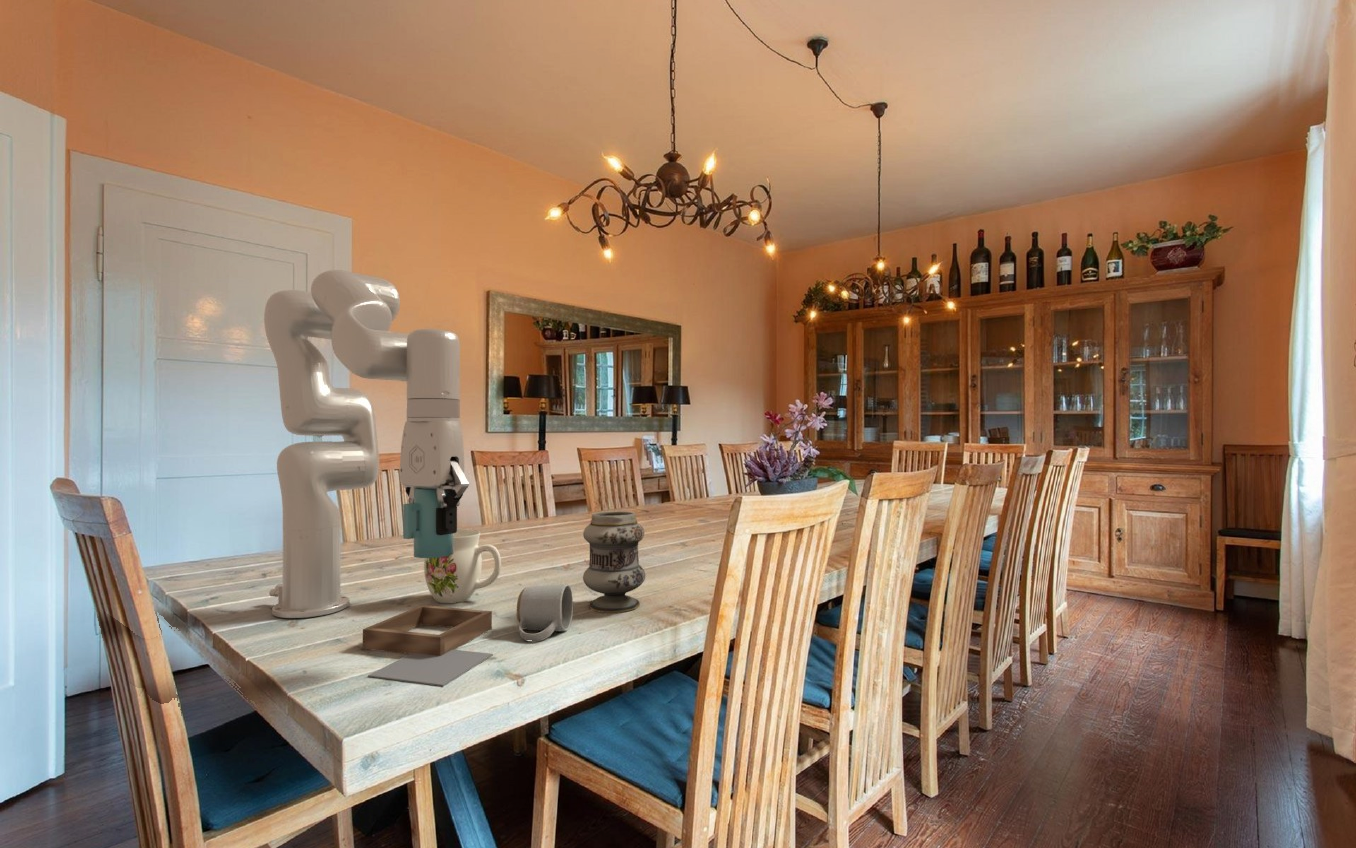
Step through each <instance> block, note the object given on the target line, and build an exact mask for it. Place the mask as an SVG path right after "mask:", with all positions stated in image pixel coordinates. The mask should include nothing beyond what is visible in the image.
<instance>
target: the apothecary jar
mask: <svg viewBox="0 0 1356 848" xmlns="http://www.w3.org/2000/svg"><path fill="white" fill-rule="evenodd" d="M582 534H583V538H584V540H585V541H586V542H587V543H589V565H588V568H586V570H585V571H584V572H583V575H582V580H583V581H582V582H583V583H584V584H585V586H586V587H587V588H588V589H590V590H591V591H594V592H596V593H599V594H603V595H601V596H599V597H597V598H595V599H593V600H591V601H590V602H589V604H588V608H589V609H590V610H592V611H593V612H597V613H598V612H599V613H603V614H604V613H605V614H606V613H608V614H615V613H616V614H617V613H625V612H630V611H633V610H636V609H638V608H639V607H640V605H641V602H640V601H639V600H638V599H637V598H635V597H632V596H630V595H626V594H627V593H629V592H632V591H634V590H636V589H638V588H639V587H640V586H641V585H642V584H643V583H644V582H645V580H646V572H645V569H644V568H643V567H642V566H641V565H640V562H639V561H640V560H639V543H640V542H641V541H642V540H643V539H644V537H645V529H644V527H643V526H642V525H641V524H640V523H638V520H637V516H636V512H634V511H630V510H607V511H598V512H593V513H592V514H591V519H590V523H589V524H588V525H586V527H585V528H584V530H583V533H582Z"/></svg>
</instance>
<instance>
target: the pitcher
mask: <svg viewBox="0 0 1356 848" xmlns="http://www.w3.org/2000/svg"><path fill="white" fill-rule="evenodd" d="M480 537H481V531H480V530H477V529H469V528H468V529H467V528H457V532H456V533H453V554H452V555H449V556H445V557H438V558H424V562H423V563H424V564H423V571H424V578H425V583H426V586H427V588H428V591H429V593H430V594H431V596H432V598H433V599H434V600H435V601H436V602H437V603H439V604H440V603H442V604H456V602H457V603H462V602H466V601H468V600H470V599H471V598H472V596H473V594H475V592H476V591H477V590H479V589H482V588H483V589H484V588H486V587H488V586H490V585H491V584H493V583H494V582H495V581H496V580H497V579H498V578H499V575H500V573H501V569H502V558H501V554H500V552H499V550H498V549H497V547H495V545H492V544H484V545H481V546H479V542H480V541H479V540H480ZM483 552H490V553H491V554H492V557H493V559H494V569H493V571H492V574H491V575H490V576H489V577H487V578H486V579H485V580H480V579H481V575H482V569H483V568H482V567H483V557H482V553H483Z"/></svg>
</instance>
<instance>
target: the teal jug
mask: <svg viewBox="0 0 1356 848" xmlns="http://www.w3.org/2000/svg"><path fill="white" fill-rule="evenodd" d="M444 492H445V496H446V495H447V494H448V492H449V491H444ZM402 508H403V510H402V511H403V512H402V513H403V514H402V515H403V517H402V518H403V519H402V520H403V523H402V526H403V529H402V533H403V535H402V538H403V539H404V540H405V539H406V540H412V539H413V557H414V558H417V559H425V558H438V557H445V556H449V555H452V554H453V533H452V534H446V535H437V534H436V508H440V506H439V503H438V498H437V493H436V488H434V489H429V488H414V503H403V506H402Z"/></svg>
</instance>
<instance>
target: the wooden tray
mask: <svg viewBox="0 0 1356 848" xmlns="http://www.w3.org/2000/svg"><path fill="white" fill-rule="evenodd" d="M492 619H493V611H492V610H491V611H490V610H480V609H472V608H471V609H470V608H469V609H468V608H458V607H446V606H438V605H437V606H435V605H425V604H422V605H419V606H417V607H414V608H411V609H409V610H407V611H405V612H402V613H399V614H396V615H394V616H392V617H389V618H386V619H385V620H382V621H380V622H377V623H375V624H373V625H369V626H368V627H364V628H363V629H362V649H364V650H370V651H378V652H379V651H381V652H388V653H397V654H405V655H406V654H407V655H409V654H411V653H417V654H426V655H434V656H442V655H443V654H445V653H447V652H449V651H451V650H452V649H453V650H458V648H460V647H462V646H464V645H466V644H467V643H469V642H471V641H473V640H474V638H475V639H476V638H478V637H480V636H482V635H483V633H484V634H485V633H487V632H489V631H491V630H492V629H493V620H492ZM422 625H428V626H437V627H447V628H450V629H448V630H446V631H444V632H441V633H439V634H435V633H425V632H417V631H412V630H413V629H416V628H417V627H420V626H422ZM488 630H489V631H488ZM470 640H471V641H470Z"/></svg>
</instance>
